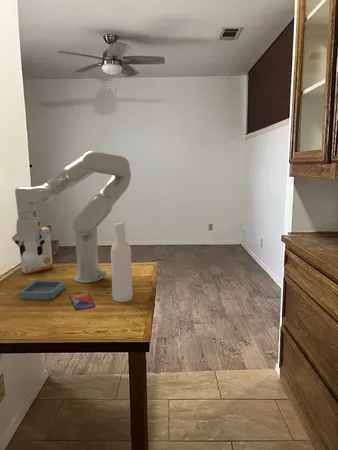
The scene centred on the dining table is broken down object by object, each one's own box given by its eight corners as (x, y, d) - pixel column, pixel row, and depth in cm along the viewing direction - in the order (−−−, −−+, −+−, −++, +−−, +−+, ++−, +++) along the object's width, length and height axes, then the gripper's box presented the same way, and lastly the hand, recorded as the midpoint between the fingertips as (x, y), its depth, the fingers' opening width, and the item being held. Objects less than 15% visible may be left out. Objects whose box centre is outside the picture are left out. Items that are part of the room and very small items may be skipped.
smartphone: (75, 312, 128) (75, 309, 128) (69, 297, 142) (69, 294, 142) (95, 308, 131) (95, 306, 131) (88, 294, 145) (88, 292, 145)
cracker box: (47, 266, 185) (44, 226, 181) (53, 268, 181) (50, 228, 177) (21, 272, 175) (17, 230, 172) (26, 274, 171) (22, 232, 167)
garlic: (41, 258, 155) (40, 250, 154) (24, 261, 151) (23, 253, 151) (37, 255, 161) (36, 247, 161) (21, 257, 158) (20, 249, 157)
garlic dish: (65, 287, 152) (64, 281, 152) (51, 299, 139) (51, 293, 138) (35, 286, 154) (35, 280, 153) (19, 299, 140) (19, 292, 139)
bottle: (113, 295, 143) (110, 221, 138) (132, 294, 144) (130, 221, 138) (111, 302, 135) (108, 225, 130) (132, 301, 136) (130, 224, 131)
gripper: (50, 213, 157) (54, 252, 161) (12, 214, 159) (17, 252, 162) (42, 216, 150) (47, 256, 153) (3, 217, 152) (8, 257, 155)
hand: (31, 254), depth 158 cm, fingers closed on garlic, 7 cm apart
